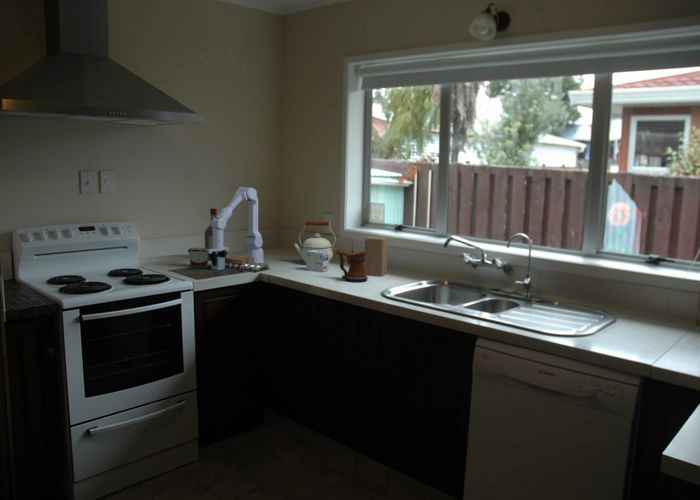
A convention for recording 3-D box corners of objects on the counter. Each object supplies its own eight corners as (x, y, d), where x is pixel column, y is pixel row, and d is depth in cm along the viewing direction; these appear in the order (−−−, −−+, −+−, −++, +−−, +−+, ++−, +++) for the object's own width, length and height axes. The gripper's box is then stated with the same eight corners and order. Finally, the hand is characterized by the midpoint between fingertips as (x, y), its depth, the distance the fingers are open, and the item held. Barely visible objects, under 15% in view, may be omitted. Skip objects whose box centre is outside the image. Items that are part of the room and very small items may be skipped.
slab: (236, 259, 332) (236, 255, 331) (253, 262, 326) (253, 257, 326) (225, 262, 323) (225, 257, 322) (242, 264, 317) (242, 260, 317)
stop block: (217, 267, 323) (217, 256, 322) (224, 268, 321) (224, 257, 320) (211, 268, 319) (211, 258, 318) (218, 269, 317) (218, 258, 316)
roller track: (235, 264, 334) (235, 259, 334) (269, 268, 323) (269, 263, 322) (220, 267, 323) (220, 262, 322) (255, 272, 311) (255, 267, 311)
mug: (330, 279, 300) (330, 250, 298) (342, 275, 310) (343, 247, 308) (359, 283, 291) (360, 253, 288) (371, 280, 300) (372, 251, 298)
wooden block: (386, 273, 319) (388, 236, 316) (381, 276, 309) (383, 239, 306) (369, 271, 322) (370, 235, 319) (363, 275, 313) (364, 237, 310)
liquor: (203, 258, 350) (203, 208, 345) (218, 257, 355) (217, 207, 351) (210, 261, 343) (209, 209, 338) (224, 259, 348) (224, 209, 343)
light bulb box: (329, 270, 323) (329, 251, 322) (323, 272, 317) (323, 252, 316) (311, 268, 328) (312, 249, 326) (306, 270, 322) (306, 250, 320)
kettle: (338, 261, 350) (339, 220, 347) (331, 267, 333) (332, 223, 329) (297, 259, 355) (298, 218, 351) (289, 264, 337) (289, 221, 333)
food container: (213, 265, 329) (213, 247, 327) (209, 267, 323) (209, 249, 321) (191, 264, 330) (191, 246, 329) (187, 266, 324) (187, 248, 322)
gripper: (221, 238, 326) (221, 262, 328) (203, 241, 313) (203, 266, 315) (231, 239, 323) (231, 264, 325) (213, 242, 310) (213, 267, 312)
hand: (217, 265), depth 320 cm, fingers closed on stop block, 5 cm apart
